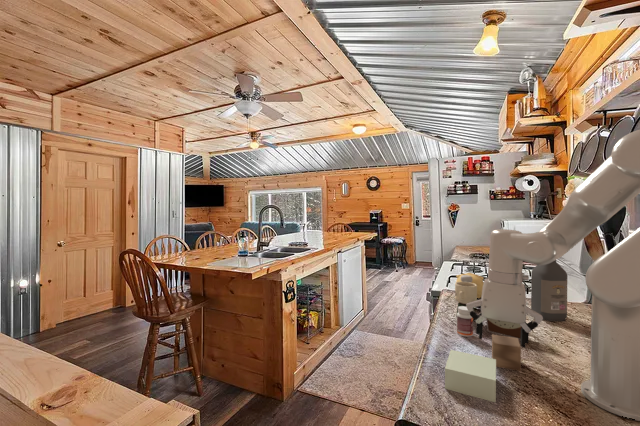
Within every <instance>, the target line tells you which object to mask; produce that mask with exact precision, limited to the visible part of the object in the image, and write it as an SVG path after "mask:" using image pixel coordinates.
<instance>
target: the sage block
mask: <svg viewBox="0 0 640 426" xmlns="http://www.w3.org/2000/svg"><path fill="white" fill-rule="evenodd" d="M444 389H445V390H448V391H453V392H456V393H459V394H463V395H467V396H471V397H474V398H478V399H481V400H486V401H489V402H492V403H496V401H497V400H496V399H497V367H496V359H492V357H486V356H482V355H478V354H473V353H469V352H463V351H459V350H455V349H450V351H449V355H448V358H447V360H446V363H445V367H444Z"/></svg>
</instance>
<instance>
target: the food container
mask: <svg viewBox="0 0 640 426" xmlns="http://www.w3.org/2000/svg"><path fill="white" fill-rule="evenodd" d="M526 316H529V314H528V313H526ZM485 320H486V328H487V332H489V333H492V334H495V335H500V336H506V337H513V338H518V340H520V337H521V328H522V326H521V325H520V324H517V323H511V322H505V321H499V320H494V319H488V318H486V319H485Z"/></svg>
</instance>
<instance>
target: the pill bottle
mask: <svg viewBox="0 0 640 426" xmlns="http://www.w3.org/2000/svg"><path fill="white" fill-rule="evenodd" d="M457 307H458V306H457ZM456 314H457V318H456V334H457V335H459V336H461V337H467V338H470V337H473V336H474V321H473V318H472V316H471V315H470V313H469V311H468V309H467V307H465V306H460V307H458V313H457V312H456Z"/></svg>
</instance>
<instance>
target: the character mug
mask: <svg viewBox="0 0 640 426" xmlns="http://www.w3.org/2000/svg"><path fill="white" fill-rule="evenodd" d="M454 291H455V294H454V300H455V301H456V302H457V303H458V304H457V309H456V313H455V314H456V315H455V317H456V319H457V313H458V307H460V306H465V307H466V304H467V303H470V302H473V301H477V300H478V299H477V285H476V284H474V283H470V282H456V281H455V283H454ZM473 310H474V311H475V312H476V310H475V307H474V308H473ZM473 322H476V321H475V320H474V319H473Z"/></svg>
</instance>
